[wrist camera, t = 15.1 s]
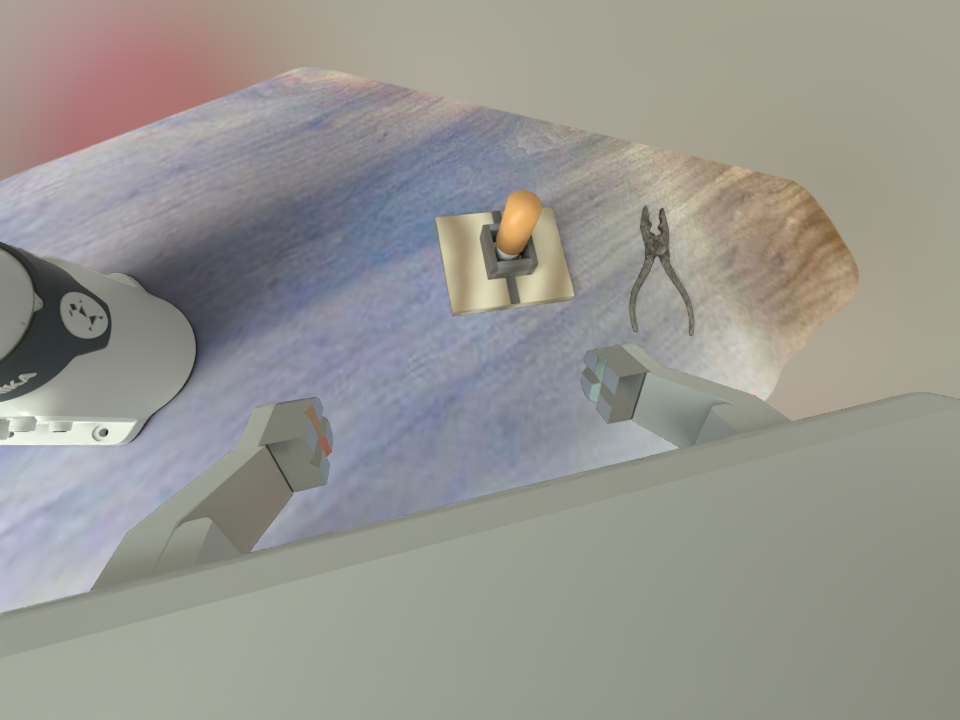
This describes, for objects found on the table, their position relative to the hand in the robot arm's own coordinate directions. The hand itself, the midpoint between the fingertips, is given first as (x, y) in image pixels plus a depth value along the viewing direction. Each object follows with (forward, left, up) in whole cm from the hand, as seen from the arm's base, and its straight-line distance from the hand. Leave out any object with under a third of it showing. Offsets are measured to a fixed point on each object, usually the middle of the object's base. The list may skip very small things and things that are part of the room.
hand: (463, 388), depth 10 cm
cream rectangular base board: (+12, +19, -30) cm, 38 cm away
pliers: (+32, +15, -31) cm, 47 cm away
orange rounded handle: (+11, +19, -29) cm, 36 cm away
